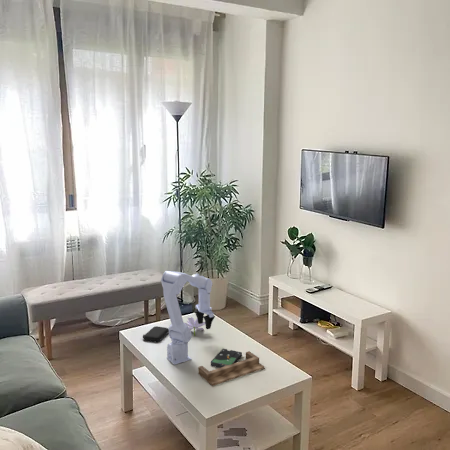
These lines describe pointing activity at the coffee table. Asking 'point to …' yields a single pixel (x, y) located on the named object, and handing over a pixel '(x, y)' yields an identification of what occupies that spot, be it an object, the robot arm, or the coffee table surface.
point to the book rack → (231, 370)
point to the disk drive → (226, 358)
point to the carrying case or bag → (156, 334)
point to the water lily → (194, 324)
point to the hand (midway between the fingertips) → (204, 326)
